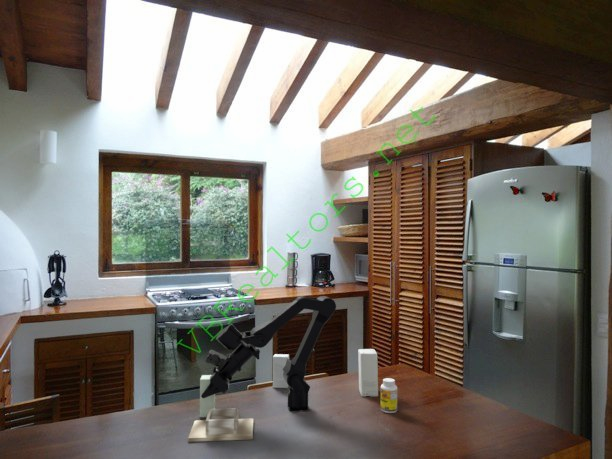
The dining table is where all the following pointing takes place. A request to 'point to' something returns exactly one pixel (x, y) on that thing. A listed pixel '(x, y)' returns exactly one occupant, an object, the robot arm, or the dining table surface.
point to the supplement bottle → (389, 396)
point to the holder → (221, 426)
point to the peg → (208, 401)
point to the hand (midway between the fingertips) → (203, 394)
